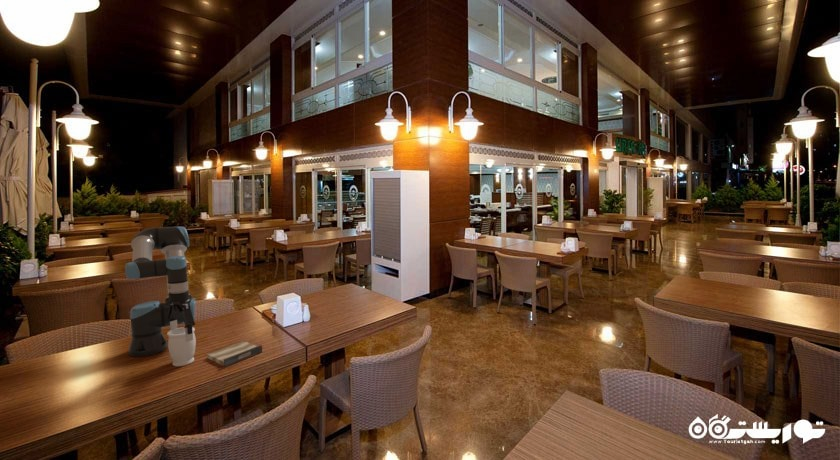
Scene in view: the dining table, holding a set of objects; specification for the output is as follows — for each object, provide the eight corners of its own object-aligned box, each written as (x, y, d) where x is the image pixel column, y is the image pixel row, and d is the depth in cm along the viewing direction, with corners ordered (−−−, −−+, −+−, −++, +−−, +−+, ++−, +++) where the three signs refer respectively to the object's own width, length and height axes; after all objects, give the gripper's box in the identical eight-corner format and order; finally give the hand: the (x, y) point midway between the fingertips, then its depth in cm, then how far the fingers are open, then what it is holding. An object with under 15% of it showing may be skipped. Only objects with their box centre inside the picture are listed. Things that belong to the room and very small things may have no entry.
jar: (183, 369, 162) (181, 336, 160) (163, 366, 164) (161, 334, 162) (202, 358, 172) (200, 327, 170) (183, 356, 174) (181, 325, 172)
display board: (207, 358, 172) (207, 351, 171) (243, 344, 187) (243, 338, 186) (225, 366, 163) (225, 360, 163) (262, 352, 178) (262, 345, 178)
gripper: (156, 289, 168) (159, 334, 170) (183, 297, 154) (186, 346, 156) (174, 286, 174) (177, 329, 176) (201, 293, 160) (205, 340, 163)
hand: (181, 337), depth 166 cm, fingers open, 13 cm apart
